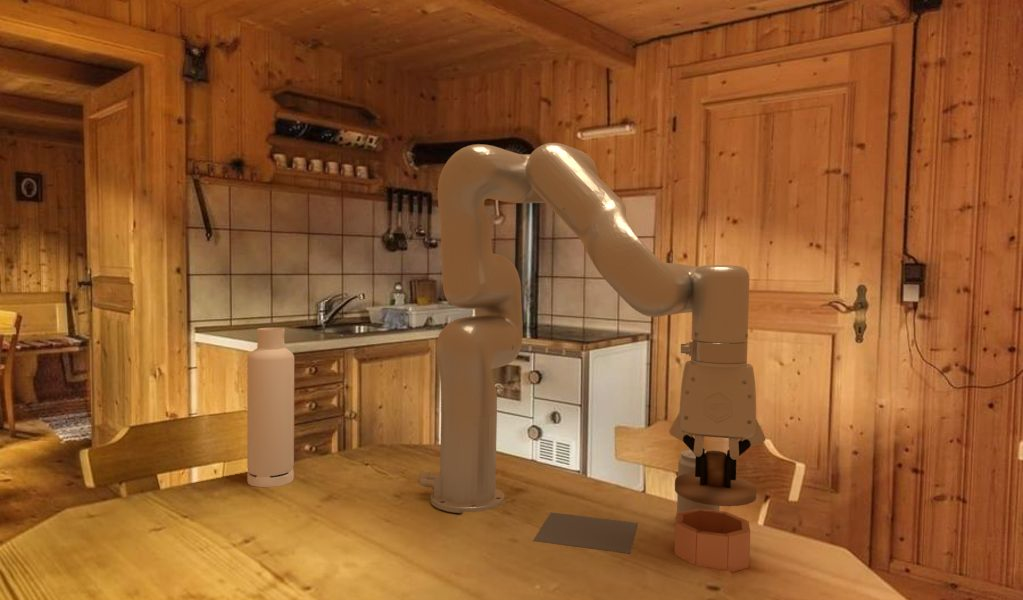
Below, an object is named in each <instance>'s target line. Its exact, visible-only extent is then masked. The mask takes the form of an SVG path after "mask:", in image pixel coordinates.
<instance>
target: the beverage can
mask: <svg viewBox="0 0 1023 600" xmlns="http://www.w3.org/2000/svg"><path fill="white" fill-rule="evenodd" d="M707 451H708V450H706V449H705V453H706V452H707ZM680 455H681V456H680V458H679V459H678V463H677V464H678V467H677V468H678V469H677V470H678V471H677V477H678V476H680V475H683V474H688V473H695V461H696V456H695V455H694V453H693V452H692V451H691V449H686V450H682V451H681V453H680ZM676 499H677V500H676V513H678V512H683V511H687V510H692V509H698V508H699V509H708V510H717V511H720V509H721V508H720V507H721V506H715V505H708V504H702V503H698V502H694V501H691V500H688V499H685V498H683V497H681V496H680V495H678V494H677V498H676Z"/></svg>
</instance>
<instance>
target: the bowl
mask: <svg viewBox="0 0 1023 600" xmlns="http://www.w3.org/2000/svg"><path fill="white" fill-rule="evenodd" d="M675 514H676V515H675V524H674V526H675V527H674V547H673V549H674V551H673V552H674V553H673V555H676V556H677V557H679V558H681V559H682V560H684V561H687V562H688V563H690V564H692V565H693V566H696V567H704V568H709V569H711V568H712V569H719V570H726V571H727V570H728V571H729V570H730V573H735V572H738V571H741V570H745V569H748V568H749V567H750V553H751V552H750V551H751V550H750V549H751V527H750V522H749V520H747V519H745V518H742V517H740V516H738V515H736V514H733V513H732V512H731V513H730V512H729V511H725V510H719V511H717V510H708V509H699V508H698V509H692V510H687V511H683V512H678V513H677V512H676V513H675Z"/></svg>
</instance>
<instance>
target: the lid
mask: <svg viewBox="0 0 1023 600" xmlns="http://www.w3.org/2000/svg"><path fill="white" fill-rule="evenodd" d="M706 451H707V452H706V475H705V484H704V485H700V477H695V473H688V474H683V475H680V476H678V475H677V477H676V478H675V479H674V492H675V493H676V494H677V496H678V495H680V496H681V497H683V498H685V499H688V500H691V501H694V502H698V503H702V504H708V505H715V506H720V507H738V506H745V505H749V504H751V503H753V502H755V501H756V499H757V486H756V485H755V484H754V483H752V482H751V481H749V480H747V479H744V478H743V477H738V476H736V480H731V488H728V487H727V486H725V470H726V455H727V452H723V451H720V450H719V451H718V450H706Z"/></svg>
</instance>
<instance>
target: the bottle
mask: <svg viewBox="0 0 1023 600" xmlns="http://www.w3.org/2000/svg"><path fill="white" fill-rule="evenodd" d="M256 332H257V345H256V346H257V348H255V349H254V350H252V351H251V352H250V353H249V354H248V355H247V361H246V363H247V367H246V368H247V369H246V370H247V374H246V375H247V380H246V381H247V383H246V384H247V386H246V387H247V390H246V391H247V395H246V396H247V399H246V400H247V406H246V407H247V411H246V413H247V420H246V423H247V429H246V430H247V431H246V432H247V433H246V435H247V439H246V441H247V442H246V443H247V446H246V447H247V449H246V451H247V456H246V457H247V459H246V460H247V461H246V463H247V465H246V467H247V471H248V472H247V475H246V479H247V484H248V485H250V486H252V487H256V488H273V487H280V486H283V485H287V484H289V483H291V482H293V481H294V478H295V473H294V472H295V470H294V466H295V355H294V353H293V352H292V351H290V349H288V348H286V345H285V333H286V329H285V328H284V327H259V328H257V329H256ZM279 475H280V476H279Z"/></svg>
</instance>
